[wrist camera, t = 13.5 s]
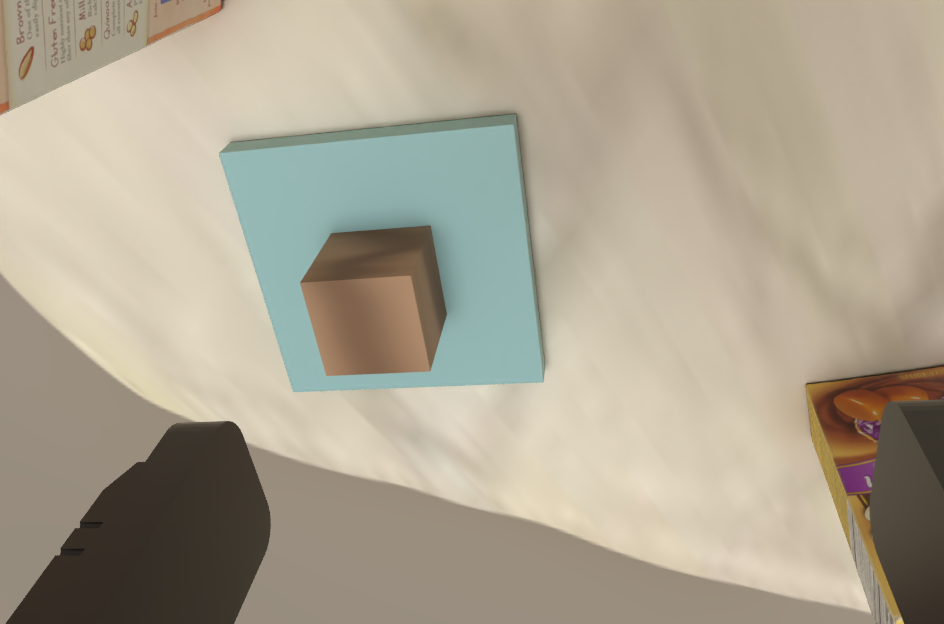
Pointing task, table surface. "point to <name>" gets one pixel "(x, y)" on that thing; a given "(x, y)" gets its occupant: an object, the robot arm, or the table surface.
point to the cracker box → (80, 38)
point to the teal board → (397, 206)
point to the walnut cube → (376, 301)
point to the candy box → (862, 460)
